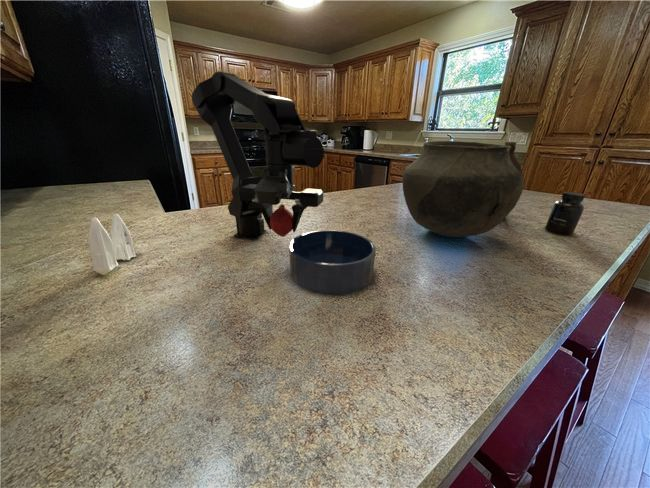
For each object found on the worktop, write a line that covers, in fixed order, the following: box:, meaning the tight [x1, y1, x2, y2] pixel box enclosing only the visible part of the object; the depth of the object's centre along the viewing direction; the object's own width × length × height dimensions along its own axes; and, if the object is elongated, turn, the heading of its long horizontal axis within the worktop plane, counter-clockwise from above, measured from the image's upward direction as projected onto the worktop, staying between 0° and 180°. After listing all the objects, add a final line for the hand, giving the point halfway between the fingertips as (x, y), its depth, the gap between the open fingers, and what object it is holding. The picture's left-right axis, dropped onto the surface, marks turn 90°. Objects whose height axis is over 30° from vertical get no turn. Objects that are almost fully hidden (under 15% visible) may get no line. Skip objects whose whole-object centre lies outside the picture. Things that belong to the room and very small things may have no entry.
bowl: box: [288, 229, 377, 295], centre depth 55 cm, size 17×17×6 cm
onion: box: [270, 203, 293, 238], centre depth 63 cm, size 6×6×8 cm
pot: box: [401, 140, 525, 238], centre depth 74 cm, size 29×32×25 cm
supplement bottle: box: [544, 191, 586, 237], centre depth 80 cm, size 7×7×12 cm
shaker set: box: [87, 213, 136, 276], centre depth 54 cm, size 12×4×11 cm, turn 9°
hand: (282, 230), depth 64 cm, fingers closed on onion, 6 cm apart
